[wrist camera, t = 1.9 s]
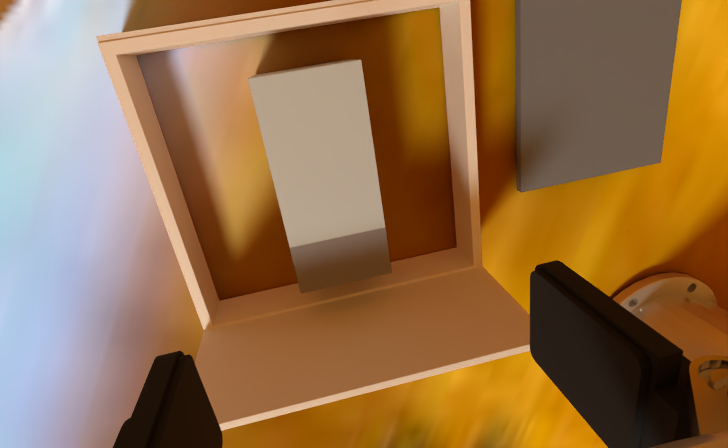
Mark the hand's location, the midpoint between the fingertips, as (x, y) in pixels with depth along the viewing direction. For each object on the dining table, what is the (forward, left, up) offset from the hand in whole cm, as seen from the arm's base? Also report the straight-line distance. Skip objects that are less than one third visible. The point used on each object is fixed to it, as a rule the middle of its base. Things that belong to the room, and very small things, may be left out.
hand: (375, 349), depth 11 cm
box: (0, -1, -18) cm, 18 cm away
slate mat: (-19, -5, -17) cm, 26 cm away
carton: (0, -1, -17) cm, 17 cm away
